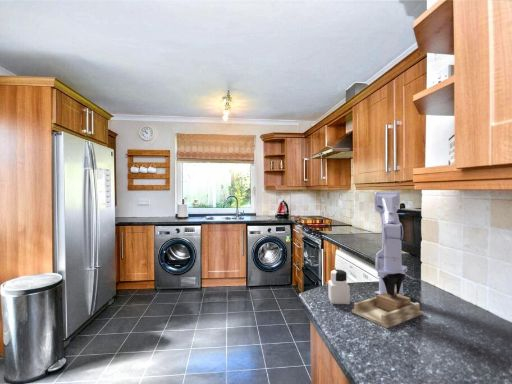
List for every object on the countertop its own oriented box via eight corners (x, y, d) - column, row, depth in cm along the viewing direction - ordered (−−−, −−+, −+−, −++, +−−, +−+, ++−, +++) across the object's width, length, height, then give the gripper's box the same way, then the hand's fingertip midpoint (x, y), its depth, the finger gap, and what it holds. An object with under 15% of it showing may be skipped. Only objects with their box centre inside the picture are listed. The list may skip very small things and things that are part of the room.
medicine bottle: (345, 297, 114) (345, 268, 114) (350, 304, 107) (349, 273, 107) (328, 297, 115) (328, 268, 115) (331, 304, 108) (331, 273, 108)
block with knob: (389, 301, 107) (389, 279, 107) (410, 309, 100) (410, 285, 100) (376, 306, 103) (376, 282, 103) (396, 314, 96) (396, 289, 96)
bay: (386, 300, 110) (386, 292, 110) (422, 314, 98) (422, 304, 98) (351, 312, 100) (351, 302, 100) (387, 328, 88) (386, 317, 88)
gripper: (390, 261, 94) (390, 301, 94) (415, 256, 101) (415, 293, 101) (372, 257, 100) (372, 295, 100) (396, 252, 107) (397, 287, 107)
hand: (393, 293), depth 101 cm, fingers closed on block with knob, 2 cm apart
